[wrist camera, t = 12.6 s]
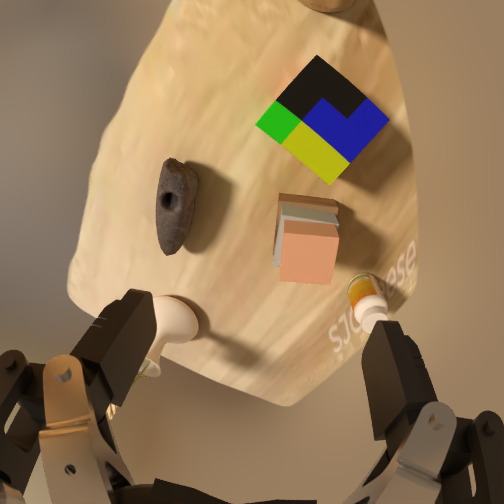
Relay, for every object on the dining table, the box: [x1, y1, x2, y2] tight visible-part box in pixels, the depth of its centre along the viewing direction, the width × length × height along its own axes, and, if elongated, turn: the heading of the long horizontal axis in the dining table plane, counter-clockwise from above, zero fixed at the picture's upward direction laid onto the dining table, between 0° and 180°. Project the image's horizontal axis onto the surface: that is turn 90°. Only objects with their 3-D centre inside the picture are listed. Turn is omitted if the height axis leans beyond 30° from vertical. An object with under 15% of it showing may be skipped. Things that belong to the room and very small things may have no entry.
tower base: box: [273, 193, 339, 255], centre depth 40 cm, size 8×8×4 cm
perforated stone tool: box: [156, 158, 199, 256], centre depth 39 cm, size 15×5×7 cm, turn 165°
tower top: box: [273, 204, 339, 267], centre depth 37 cm, size 7×7×4 cm
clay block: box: [279, 219, 339, 285], centre depth 33 cm, size 6×6×4 cm
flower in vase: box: [107, 296, 199, 419], centre depth 42 cm, size 13×11×25 cm
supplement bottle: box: [348, 273, 388, 333], centre depth 41 cm, size 5×5×10 cm
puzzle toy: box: [255, 55, 389, 186], centre depth 30 cm, size 10×10×10 cm
